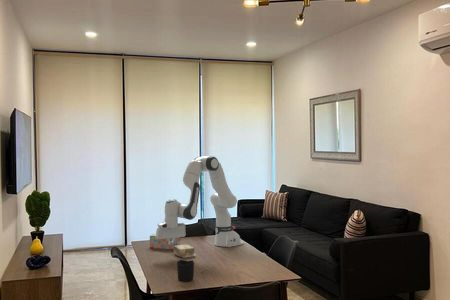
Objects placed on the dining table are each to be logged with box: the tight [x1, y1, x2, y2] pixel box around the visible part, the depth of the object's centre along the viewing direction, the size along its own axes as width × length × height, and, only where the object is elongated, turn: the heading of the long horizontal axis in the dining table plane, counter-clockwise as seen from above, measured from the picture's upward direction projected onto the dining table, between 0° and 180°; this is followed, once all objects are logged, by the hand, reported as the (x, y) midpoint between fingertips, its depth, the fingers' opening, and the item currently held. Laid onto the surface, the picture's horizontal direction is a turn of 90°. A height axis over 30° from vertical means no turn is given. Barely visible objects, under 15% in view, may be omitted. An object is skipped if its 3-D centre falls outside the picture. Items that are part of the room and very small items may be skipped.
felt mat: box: [181, 253, 197, 258], centre depth 296 cm, size 10×12×1 cm
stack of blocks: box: [149, 233, 181, 250], centre depth 316 cm, size 21×6×12 cm, turn 78°
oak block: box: [173, 244, 195, 258], centre depth 295 cm, size 5×12×10 cm
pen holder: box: [176, 259, 195, 283], centre depth 241 cm, size 9×9×10 cm
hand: (171, 244), depth 290 cm, fingers closed
